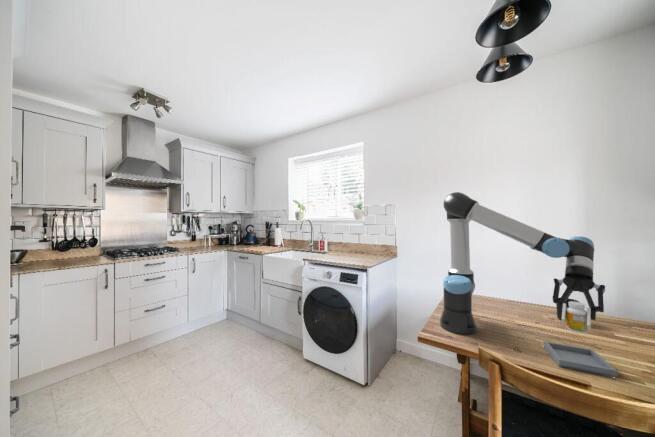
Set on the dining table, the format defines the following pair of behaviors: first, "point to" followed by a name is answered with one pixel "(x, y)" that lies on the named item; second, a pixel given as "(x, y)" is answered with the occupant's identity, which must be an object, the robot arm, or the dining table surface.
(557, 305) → the pen holder
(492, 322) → the dining table surface
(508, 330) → the dining table surface
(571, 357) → the tray
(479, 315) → the dining table surface
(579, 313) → the supplement bottle
